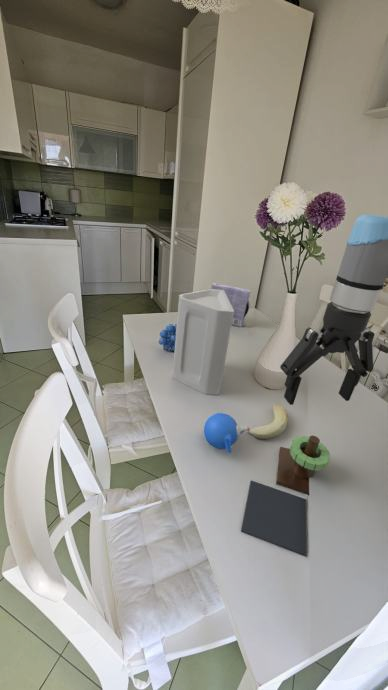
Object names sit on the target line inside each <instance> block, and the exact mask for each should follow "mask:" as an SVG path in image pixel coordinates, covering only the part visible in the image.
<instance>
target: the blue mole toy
mask: <svg viewBox="0 0 388 690" xmlns="http://www.w3.org/2000/svg"><path fill="white" fill-rule="evenodd" d="M250 429H251V427H250V426H241V425H238V423H237V422H236V418H234V417H233V416H231V414H228V413H225V412H217V413H213V414H212V415H210V416H209V417H208V418H207V420H206V421H205V423H204V426H203V434H204V438H205V441H206V442H207V444H209V446H210V447H212V448H213V449H216V450H226V453H227V454H231V452H232V446H233V445H235V444H236V442H237V440H238V438H239V437H240V436H242V435H243V434H244V433H245V432H248V431H249V430H250Z"/></svg>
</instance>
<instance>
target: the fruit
mask: <svg viewBox="0 0 388 690" xmlns="http://www.w3.org/2000/svg"><path fill="white" fill-rule="evenodd" d="M272 410H273V411H272V413H273V421H272V422H270V423H269V424H265V425H262V426H255V427H253V428H250V430H249V431H247V433H249V434H250V435H252V436H253V437H254V438H256V439H261V440H265V439H271V438H275V437H277V436H279V435H281V434H282V433H284V431H285V430H286V428H287V425H288V420H289V419H288V414H287V412H286V410H285V408H284V407H283V406H282V405H281V404H278V403H274V404H273V408H272Z"/></svg>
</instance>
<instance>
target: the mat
mask: <svg viewBox="0 0 388 690" xmlns="http://www.w3.org/2000/svg"><path fill="white" fill-rule="evenodd" d="M242 518H243V519H242V523H241V528H240V532H241V533H244V534H247V535H249V536H252V537H254V538H257V539H259V540H262V541H265V542H267V543H269V544H272V545H276V546H277V547H280V548H283V549H286V550H288V551H291V552H293V553H295V554H298V555H301V556H304V557H307V499H306V498H304V497H301V496H299V495H295V494H292V493H290V492H287V491H283V490H281V489H277V488H274V487H272V486H269V485H266V484H263V483H260V482H258V481H254V480H252V479H250V482H249V487H248V492H247V497H246V502H245V507H244V513H243V517H242Z"/></svg>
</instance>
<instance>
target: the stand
mask: <svg viewBox="0 0 388 690" xmlns="http://www.w3.org/2000/svg"><path fill="white" fill-rule="evenodd" d="M308 437H309V440H308V443H307V445H306V447H302V448H300V449H301V451H302V452H303V453H304V454H305V455H307V456H308V457H312V458H319V456H318V454H317V453H316V450H317V447H318V445H319V442H321V440H320V438H319V437H318V436H316V435H310V436H308ZM277 460H278V462H277V469H276V470H277V471H276V480H275V485H277V486H280V487H283V488H286V489H289V490H292V491H294V492H298V493H300V494H304V495H307V496H310V478H312V477H314V476H315V474H316V472H317V470H316V471H314V469H313V470H310V469H307V468H304V466H303V467H302V466H301V465H300V464H298V463H297V462H296V461H295V460H294V459H293V457H292V456H291V454H290V448H287V447H284V446H280V447H279V452H278V459H277Z"/></svg>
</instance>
